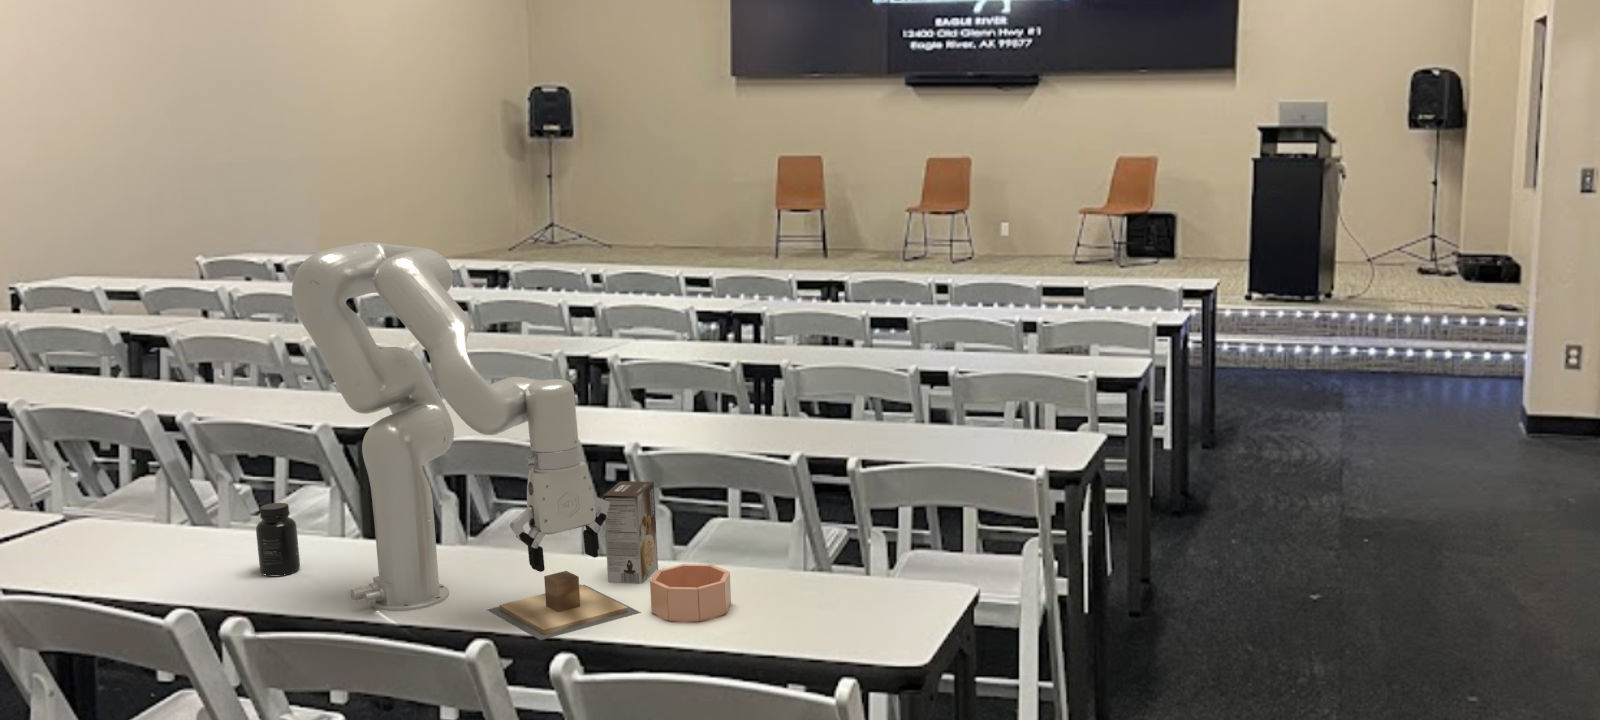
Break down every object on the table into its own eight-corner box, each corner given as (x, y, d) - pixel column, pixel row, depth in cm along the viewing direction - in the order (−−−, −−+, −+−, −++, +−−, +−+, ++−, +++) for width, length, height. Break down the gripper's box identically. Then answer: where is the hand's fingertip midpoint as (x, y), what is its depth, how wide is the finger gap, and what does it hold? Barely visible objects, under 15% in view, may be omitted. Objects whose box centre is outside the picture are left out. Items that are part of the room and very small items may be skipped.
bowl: (680, 631, 237) (679, 594, 236) (639, 611, 246) (638, 575, 245) (743, 613, 244) (742, 577, 243) (701, 594, 254) (700, 559, 252)
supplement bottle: (308, 568, 273) (302, 503, 271) (277, 579, 267) (271, 513, 265) (283, 562, 277) (277, 498, 274) (251, 573, 271) (245, 508, 269)
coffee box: (624, 568, 268) (619, 479, 265) (659, 570, 267) (655, 480, 264) (607, 586, 259) (602, 494, 256) (643, 587, 258) (638, 495, 255)
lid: (544, 634, 235) (542, 598, 234) (499, 609, 247) (497, 575, 246) (628, 612, 244) (626, 577, 243) (581, 588, 256) (579, 555, 255)
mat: (540, 643, 233) (540, 639, 233) (487, 613, 248) (487, 609, 247) (641, 615, 244) (641, 612, 244) (584, 588, 258) (584, 584, 258)
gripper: (517, 473, 233) (527, 580, 236) (615, 451, 243) (624, 555, 246) (495, 465, 239) (505, 570, 242) (591, 444, 249) (600, 545, 252)
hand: (565, 562), depth 244 cm, fingers open, 9 cm apart
